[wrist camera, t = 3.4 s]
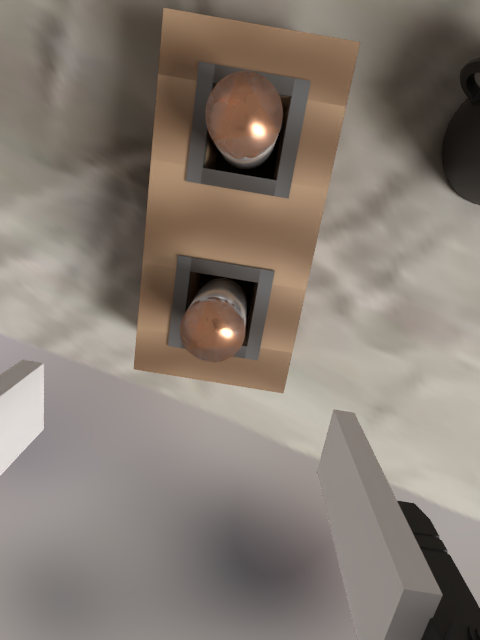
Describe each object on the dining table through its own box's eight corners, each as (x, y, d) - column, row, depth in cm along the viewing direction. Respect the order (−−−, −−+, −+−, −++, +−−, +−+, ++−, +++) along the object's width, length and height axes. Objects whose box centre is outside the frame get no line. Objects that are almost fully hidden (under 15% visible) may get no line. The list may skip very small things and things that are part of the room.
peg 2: (199, 274, 29) (183, 295, 22) (250, 282, 29) (250, 306, 22) (193, 322, 30) (176, 356, 23) (242, 330, 30) (239, 366, 23)
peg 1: (222, 101, 25) (210, 64, 19) (280, 111, 25) (289, 78, 19) (214, 164, 27) (200, 150, 20) (269, 173, 27) (274, 163, 20)
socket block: (184, 52, 29) (162, 5, 22) (335, 79, 29) (361, 41, 22) (155, 338, 36) (132, 370, 29) (277, 358, 36) (283, 394, 30)
